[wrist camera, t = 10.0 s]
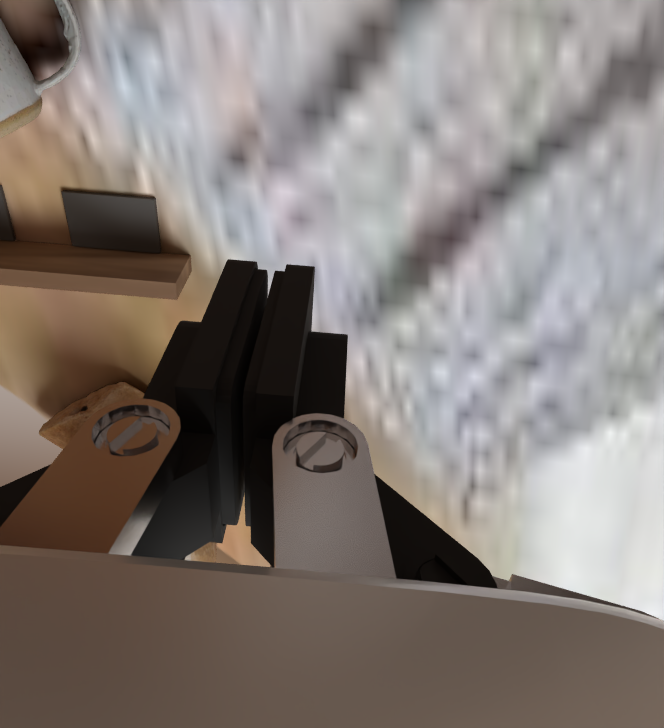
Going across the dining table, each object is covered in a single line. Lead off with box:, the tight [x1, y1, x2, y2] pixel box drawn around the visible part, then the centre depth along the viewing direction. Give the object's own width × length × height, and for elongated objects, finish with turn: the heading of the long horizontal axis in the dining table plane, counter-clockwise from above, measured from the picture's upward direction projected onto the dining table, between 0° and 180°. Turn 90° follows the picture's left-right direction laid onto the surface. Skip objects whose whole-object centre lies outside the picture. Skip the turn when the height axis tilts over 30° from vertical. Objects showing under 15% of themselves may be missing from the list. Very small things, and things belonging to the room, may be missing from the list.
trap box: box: [0, 185, 192, 300], centre depth 35 cm, size 17×20×4 cm
